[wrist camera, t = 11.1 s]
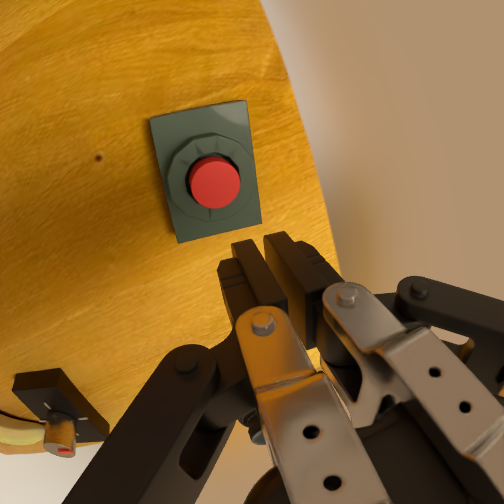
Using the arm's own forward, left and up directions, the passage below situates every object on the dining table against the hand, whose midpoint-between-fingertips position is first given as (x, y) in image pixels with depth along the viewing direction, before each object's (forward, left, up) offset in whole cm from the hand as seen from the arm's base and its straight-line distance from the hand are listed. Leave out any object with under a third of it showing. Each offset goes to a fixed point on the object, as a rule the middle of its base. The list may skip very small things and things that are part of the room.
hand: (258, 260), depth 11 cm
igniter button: (0, 0, -11) cm, 11 cm away
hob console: (+25, -27, -15) cm, 39 cm away
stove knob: (+25, -26, -12) cm, 38 cm away
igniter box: (0, 0, -15) cm, 15 cm away
